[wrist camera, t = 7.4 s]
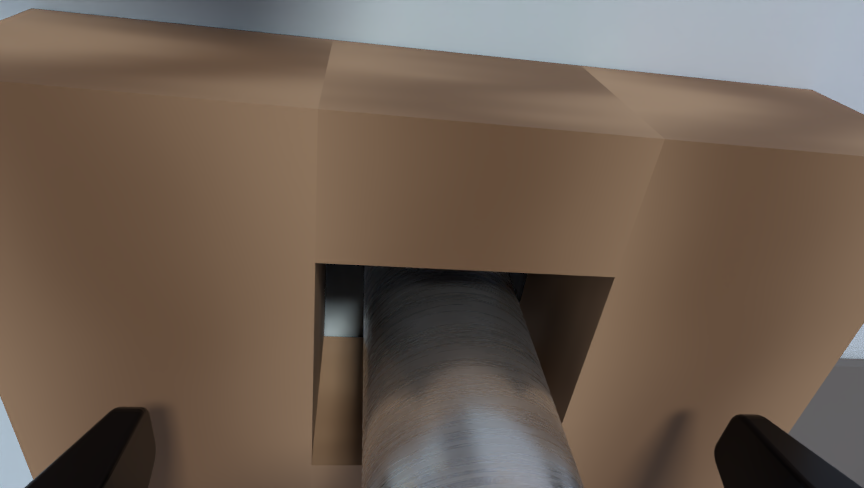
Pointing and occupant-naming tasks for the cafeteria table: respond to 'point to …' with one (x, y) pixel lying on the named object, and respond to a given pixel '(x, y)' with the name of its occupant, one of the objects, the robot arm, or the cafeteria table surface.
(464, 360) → the pin
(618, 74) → the socket block
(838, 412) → the mat
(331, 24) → the cafeteria table surface
